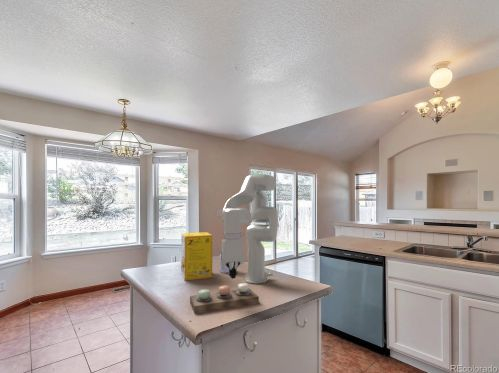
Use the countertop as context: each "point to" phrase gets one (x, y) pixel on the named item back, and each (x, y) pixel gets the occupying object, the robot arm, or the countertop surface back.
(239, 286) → the button cream
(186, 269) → the packaging box
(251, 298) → the console
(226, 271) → the soap bottle
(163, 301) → the countertop surface
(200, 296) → the button sage
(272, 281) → the countertop surface
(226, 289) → the button terracotta
